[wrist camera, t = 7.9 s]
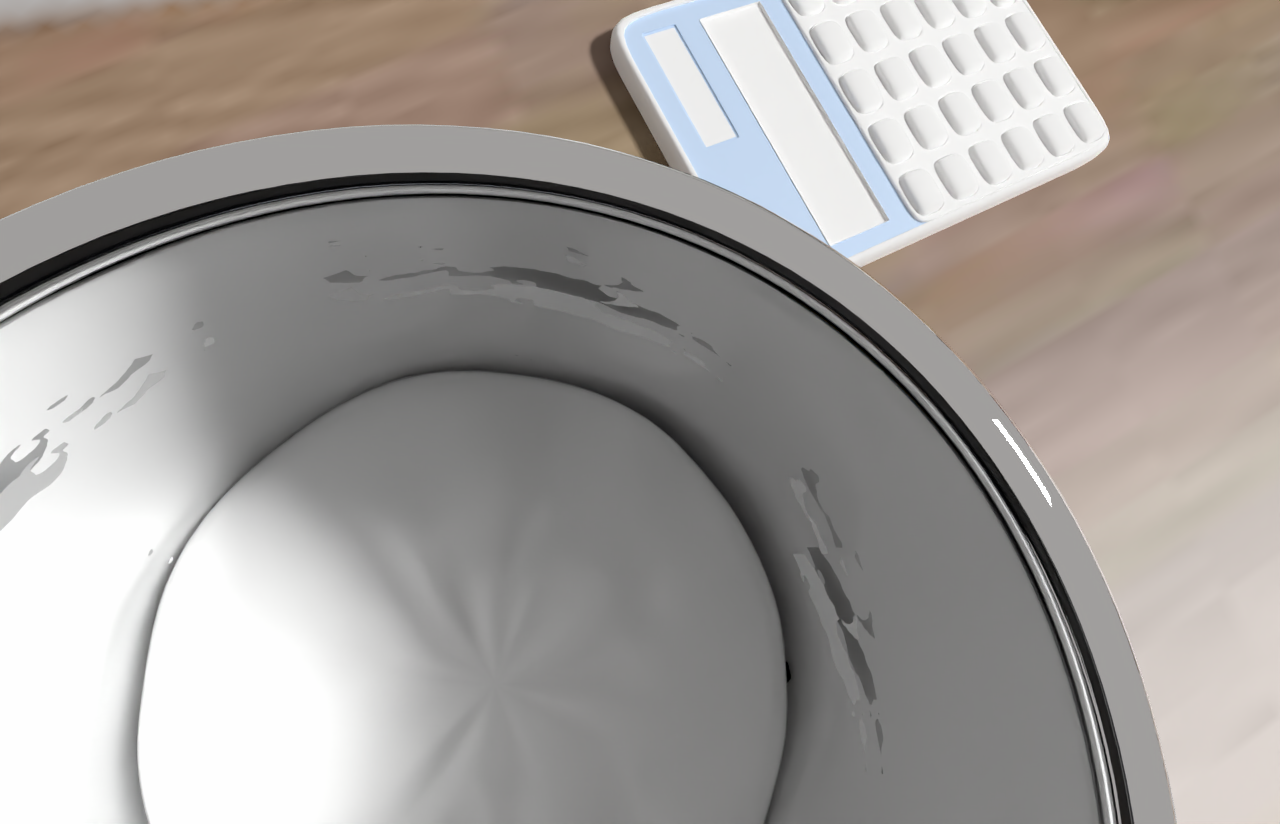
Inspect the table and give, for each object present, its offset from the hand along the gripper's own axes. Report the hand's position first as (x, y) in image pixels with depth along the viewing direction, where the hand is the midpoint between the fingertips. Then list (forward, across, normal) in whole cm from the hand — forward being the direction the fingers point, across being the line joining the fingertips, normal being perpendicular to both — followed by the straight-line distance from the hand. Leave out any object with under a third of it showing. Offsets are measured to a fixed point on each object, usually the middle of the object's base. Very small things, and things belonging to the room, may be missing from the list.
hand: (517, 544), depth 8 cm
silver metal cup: (+6, 0, +8) cm, 10 cm away
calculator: (+25, -12, -5) cm, 28 cm away
